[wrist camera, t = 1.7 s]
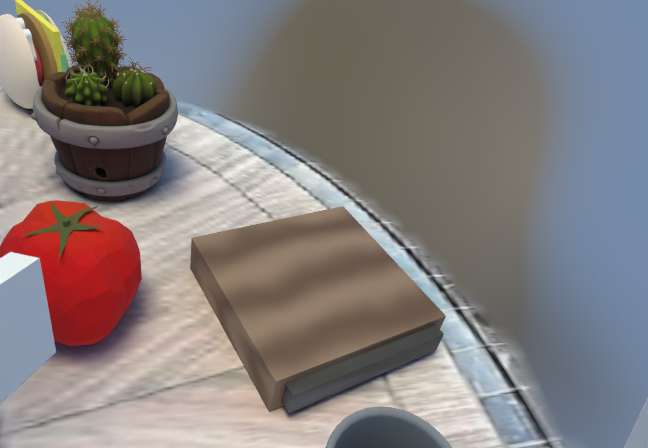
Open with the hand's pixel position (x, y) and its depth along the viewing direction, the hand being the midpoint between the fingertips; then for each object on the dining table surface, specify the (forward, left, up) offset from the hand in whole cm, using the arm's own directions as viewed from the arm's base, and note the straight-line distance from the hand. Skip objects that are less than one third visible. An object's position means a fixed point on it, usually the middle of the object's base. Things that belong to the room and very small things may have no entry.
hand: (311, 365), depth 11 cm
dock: (-23, +19, -29) cm, 41 cm away
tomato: (-30, -1, -29) cm, 42 cm away
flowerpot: (-50, +7, -29) cm, 58 cm away
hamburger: (-71, +2, -29) cm, 77 cm away
